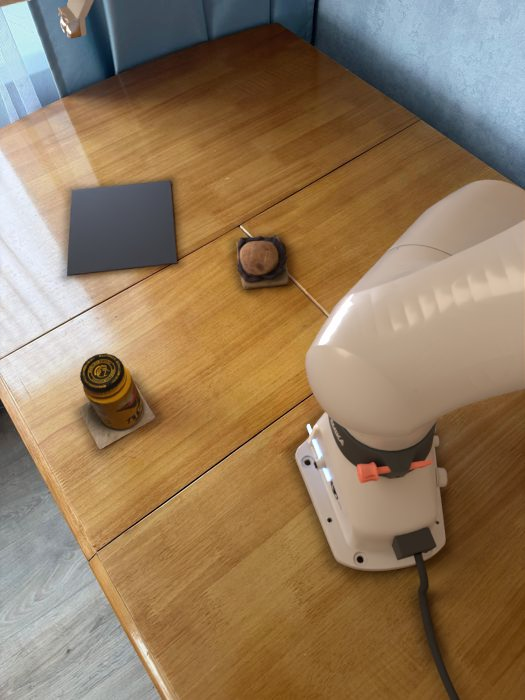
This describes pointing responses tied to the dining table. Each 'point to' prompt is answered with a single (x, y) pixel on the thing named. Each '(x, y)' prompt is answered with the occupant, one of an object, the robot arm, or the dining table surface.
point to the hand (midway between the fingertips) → (20, 47)
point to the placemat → (121, 228)
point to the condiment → (111, 400)
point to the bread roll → (262, 262)
